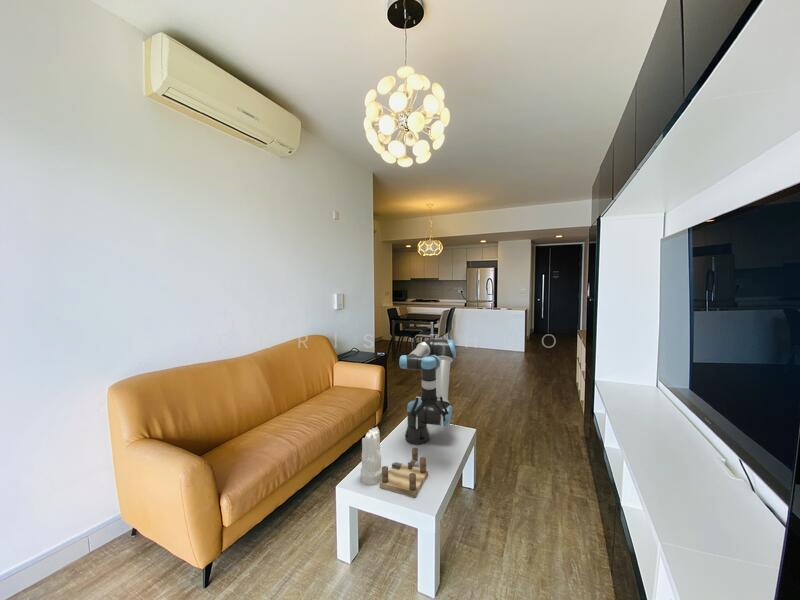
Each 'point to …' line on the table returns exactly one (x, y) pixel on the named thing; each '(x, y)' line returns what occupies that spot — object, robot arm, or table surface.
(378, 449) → the white tall rough piece
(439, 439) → the table surface
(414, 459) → the hinged leg
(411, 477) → the stool seat
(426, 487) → the table surface
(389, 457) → the table surface
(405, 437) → the robot arm
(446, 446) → the table surface
